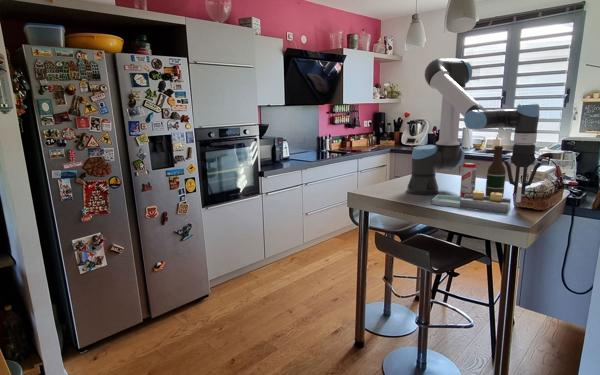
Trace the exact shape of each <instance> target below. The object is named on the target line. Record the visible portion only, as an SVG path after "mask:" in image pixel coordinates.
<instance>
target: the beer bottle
mask: <svg viewBox="0 0 600 375" xmlns="http://www.w3.org/2000/svg"><path fill="white" fill-rule="evenodd" d="M493 149H494V152H493V156H492V157H493V158H492V160H491V161H492V162H491V163H490V165H488V167H487V168H488V169H487V172H486V181H485V182H486V183H485V193H484V196H491V193H492V192H496V193H503V194H502V198H504V194H505V193H504V192H505V183H506V173H507V172H506V171H507V170H506V167H505V166H504V164H503V149H504V147H503V146H502V145H495V146H494V147H493Z"/></svg>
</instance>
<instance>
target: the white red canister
mask: <svg viewBox="0 0 600 375" xmlns="http://www.w3.org/2000/svg"><path fill="white" fill-rule="evenodd" d="M476 164H477V163H476V162H471V161H470V162H467V161H466V162H463V165H461V179H460V190H459V192H460V196H461V197H463V196H464V195H465V194H472V193H473V191H476V182H477V181H476V180H477V165H476Z"/></svg>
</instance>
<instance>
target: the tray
mask: <svg viewBox="0 0 600 375" xmlns="http://www.w3.org/2000/svg"><path fill="white" fill-rule="evenodd" d="M461 198H464V197H463V196H459V195H457V196H455V195H448V194H447V195H446V194H438V193H437V194H435V196H434V197H433V198H432V199H430V204H431V205H437V206H443V207H449V208H450V207H452V208H457V209H458V208H460V199H461ZM460 209H461V208H460Z"/></svg>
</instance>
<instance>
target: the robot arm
mask: <svg viewBox="0 0 600 375" xmlns="http://www.w3.org/2000/svg"><path fill="white" fill-rule="evenodd" d="M472 75H473V67H472V65H471V63H470V62H469V61H468V60H466V59H464V58H436V59H434V60H432V61H430V62H429V63H428V65H426V67H425V70H424V78H425V81H426V83H427V85H428V86H429V87H431V88H432V89H433V90H437V91H438V93H439V94H441V96H442V97H441V111H440V123H439V124H440V125H439V136H438V138H439V139H438V141H436V142H435V145H434V144H425V145H419V146H415V147H414V148H413V149H412V153H411V176H410V178H409V181H408V184H407V188H406V191H407V193H410V194H413V195H421V196H427V195H428V196H433V195H438V193H439V185H438V183H437V179H436V174H437V173H436V172H437V171H442V170H443V171H444V170H453V169H457V168H459V167H460V166H462V164H463V163H464V159H465V152H464V148H462V147H461V143H460V141H458V136H459V133H458V132H459V123H460V115H462V116H463V123H464V125H465V127H466V128H467V129H469V130H485V129H501V128H505V129H507V128H508V129H509V128H510V129H514V135H513V143H514V144H513V145H512V146H513V147H512V152H511V153H512V154H511V156H510V158H508V159H506V160H504V162H503V163H504V164H505V166H506V171H507V172H506V173H507V177H508V182H509V185H513V186H514V187H513V194H514V195H516V197H515V203H521V200H522V195H525V193H526V187H528V186H531V185H532V183H533V180H534V178H535V176H536V173H537V171H538V168H540V166H542V162H541V161H539V160H537V158H536V156H535V155H536V143H537V138H538V137H537V136H538V125H539V120H540V105H539V104H538V103H519V104H518V105H516V106H517V107H516V108H515V109H513V108H512V109H510V108H498V109H486V108H484V106H482V105H481V104H480V103H479V102H478V101H477V100H476V99H475V98H473V96H472V95H470V94H469V93H468V92H467V91H466V90H465V89H466V85H467V84H468V83H469V82H470V80H471V78H472ZM512 163H513V165H514V166H515V175H514V177H513V171H512V166H511V165H512ZM532 164H533V169H532V171H531V174H530V176H529V179H528V180H527V175H528V168H530V166H531V165H532ZM521 168H523V171H522V181H521V185H519V180H520V172H521Z"/></svg>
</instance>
